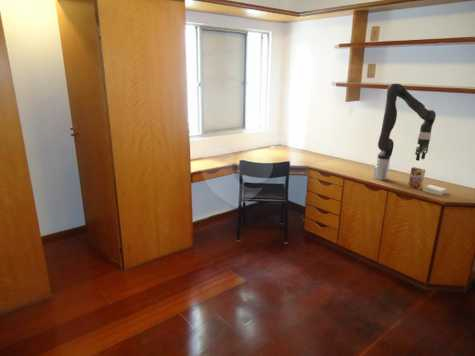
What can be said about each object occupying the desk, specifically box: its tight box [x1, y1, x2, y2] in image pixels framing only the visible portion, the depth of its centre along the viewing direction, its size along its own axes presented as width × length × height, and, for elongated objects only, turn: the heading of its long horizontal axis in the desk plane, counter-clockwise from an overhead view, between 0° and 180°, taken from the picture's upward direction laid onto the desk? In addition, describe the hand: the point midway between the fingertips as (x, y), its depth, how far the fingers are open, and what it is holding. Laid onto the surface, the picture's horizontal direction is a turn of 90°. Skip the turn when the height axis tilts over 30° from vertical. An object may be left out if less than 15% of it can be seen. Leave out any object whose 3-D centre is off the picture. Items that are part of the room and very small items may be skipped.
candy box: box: [407, 166, 426, 191], centre depth 256 cm, size 9×4×15 cm, turn 35°
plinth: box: [422, 184, 447, 196], centre depth 250 cm, size 12×10×3 cm
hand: (420, 159), depth 252 cm, fingers open, 8 cm apart
